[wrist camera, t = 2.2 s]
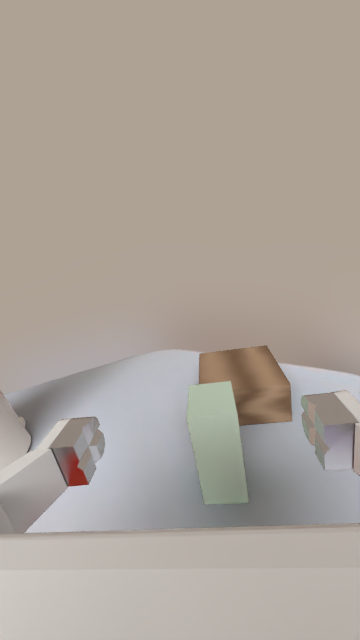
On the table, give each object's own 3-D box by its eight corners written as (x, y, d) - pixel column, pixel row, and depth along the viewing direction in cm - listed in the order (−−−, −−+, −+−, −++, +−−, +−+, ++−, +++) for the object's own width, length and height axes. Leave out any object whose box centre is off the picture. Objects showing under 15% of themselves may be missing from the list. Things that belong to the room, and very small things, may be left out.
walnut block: (205, 428, 34) (198, 393, 33) (204, 381, 46) (199, 353, 44) (291, 421, 33) (290, 383, 31) (268, 374, 44) (266, 345, 42)
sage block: (204, 504, 25) (186, 417, 21) (204, 461, 29) (189, 385, 26) (249, 502, 24) (237, 413, 21) (241, 459, 29) (230, 380, 25)
